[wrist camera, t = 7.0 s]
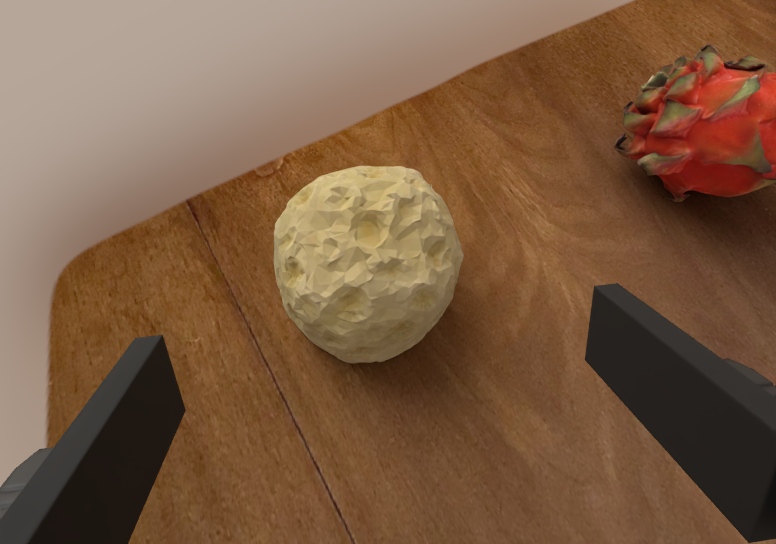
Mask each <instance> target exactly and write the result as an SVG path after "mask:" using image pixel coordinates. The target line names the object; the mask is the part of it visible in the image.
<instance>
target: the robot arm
mask: <svg viewBox="0 0 776 544" xmlns="http://www.w3.org/2000/svg"><path fill="white" fill-rule="evenodd" d="M585 360H586V362H587V363H588V364H589V365H590V366H591V367H592V368H593V369H594V371H595V372H596V373H597V374H598V375H599V376H600V377H601V378H602V379H603V381H604V382H605V383H606V384H607V385H608V386H609V387H610V388H611V390H612V391H613V392H614V393H615V394H616V395H617V396H618V397H619V398H620V400H621V401H622V402H623V403H624V404H625V405H626V406H627V407H628V409H629V410H630V411H631V412H632V413H633V414H634V415H635V416H636V417H637V419H638V420H639V421H640V422H641V423H642V424H643V425H644V426H645V428H646V429H647V430H648V431H649V432H650V433H651V434H652V435H653V436H654V438H655V439H656V440H657V441H658V442H659V443H660V444H661V445H662V446H663V448H664V449H665V450H666V451H667V452H668V453H669V454H670V455H671V457H672V458H673V459H674V460H675V461H676V462H677V463H678V464H679V465H680V467H681V468H682V469H683V470H684V471H685V472H686V473H687V474H688V476H689V477H690V478H691V479H692V480H693V481H694V482H695V483H696V484H697V486H698V487H699V488H700V489H701V490H702V491H703V492H704V493H705V495H706V496H707V497H708V498H709V499H710V500H711V501H712V502H713V503H714V505H715V506H716V507H717V508H718V509H719V510H720V511H721V512H722V514H723V515H724V516H725V517H726V518H727V519H728V520H729V521H730V522H731V524H732V525H733V526H734V527H735V528H736V529H737V530H738V531H739V533H740V534H741V535H742V536H743V537H744V538H745V539H746V540H747V541H748V543H751V542H757V541H764V540H770V539H776V386H773V383H772V382H771V381H769V380H768V379H766V378H765V377H763V376H762V375H760V374H759V373H758V372H756V371H755V370H753V369H751V368H749V367H747V366H744V365H742V364H740V363H738V362H735V361H733V360H731V359H729V358H728V359H721V358H720V357H718V356H717V355H716V354H714V353H713V352H712V351H710V350H709V349H707V348H706V347H705V346H703V345H702V344H700V343H699V342H698V341H696V340H695V339H694V338H692V337H691V336H689V335H688V334H687V333H685V332H684V331H683V330H681V329H680V328H678V327H677V326H676V325H674V324H673V323H671V322H670V321H669V320H667V319H666V318H665V317H663V316H662V315H660V314H659V313H658V312H656V311H655V310H654V309H652V308H651V307H649V306H648V305H647V304H645V303H644V302H642V301H641V300H640V299H638V298H637V297H636V296H634V295H633V294H631V293H630V292H629V291H627V290H626V289H624V288H623V287H622V286H620V285H619V284H618V283H616V284H608V285H599V286H594V291H593V299H592V307H591V315H590V323H589V331H588V339H587V347H586V355H585ZM184 413H185V407H184V404H183V400H182V397H181V394H180V390H179V387H178V384H177V381H176V377H175V374H174V371H173V368H172V364H171V361H170V358H169V354H168V351H167V348H166V345H165V341H164V338H163V335H158V336H149V337H141V338H135V339H134V341H133V342H132V343H131V345H130V346H129V347H128V349H127V350H126V351H125V353H124V354H123V355H122V357H121V358H120V359H119V361H118V362H117V363H116V365H115V366H114V367H113V369H112V370H111V371H110V373H109V374H108V375H107V377H106V378H105V379H104V381H103V382H102V383H101V385H100V386H99V388H98V389H97V390H96V392H95V393H94V394H93V396H92V397H91V398H90V400H89V401H88V402H87V404H86V405H85V406H84V408H83V409H82V410H81V412H80V413H79V414H78V416H77V417H76V418H75V420H74V421H73V422H72V424H71V425H70V426H69V428H68V429H67V430H66V432H65V433H64V434H63V436H62V437H61V439H60V440H59V441H58V443H57V444H56V445H55V447H53V448H45V449H39V450H38V451H37V452H35V453H34V454H33V455H32V456H30V457H29V458H28V459H27V460H25V461H24V462H23V463H22V464H20V465H19V466H18V467H17V468H16V469H15V470H14V471H13V472H12V473H11V475H10V476H9V477H8V478H7V480H6V481H5V482H4V483H3V485H2V486H1V487H0V544H128V542H129V540H130V537H131V535H132V533H133V530H134V528H135V526H136V523H137V521H138V519H139V516H140V514H141V512H142V510H143V507H144V505H145V503H146V500H147V498H148V496H149V493H150V491H151V489H152V486H153V484H154V482H155V480H156V477H157V475H158V473H159V470H160V468H161V466H162V463H163V461H164V459H165V457H166V454H167V452H168V450H169V447H170V445H171V443H172V440H173V438H174V436H175V433H176V431H177V429H178V427H179V424H180V422H181V420H182V417H183V415H184Z"/></svg>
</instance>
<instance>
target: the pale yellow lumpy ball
mask: <svg viewBox="0 0 776 544" xmlns="http://www.w3.org/2000/svg"><path fill="white" fill-rule="evenodd" d="M274 238H275V240H274V245H275V248H274V267H275V274H276V279H277V286H278V287H279V288H280V296H281V297H282V302H283V306H284V308H285V311H286V313H287V314H288V316H289V317H290V319H291V320H292V321H293V322H295V323H296V325H297V327H298V328H299V329H300V330H301V331H302V332H303V333H304V334H305V336H306V337H307V338H308V339H309V340H310V341H312V342H313V343H314V344H315V345H317V346H318V347H320V348H321V349H323V350H325V351H327V352H329V353H330V354H332V355H334V356H335V357H337V358H338V359H339V360H342V361H344V362H348V363H359V362H368V363H369V362H370V363H371V362H376V361H377V362H382V361H385V360H388V359H390V358H393V357H395V356H397V355H399V354H401V353H402V352H404V351H406V350H408V349H410V348H411V347H412V346H414V345H415V344H417V343H418V342H419V341H420V340H422V339H423V338H424V336H425V335H426V333H427V332H429V331H430V330H431V328H432V327H433V326H434V325H435V324H436V323H437V322H438V321H439V319H440V318H441V316H442V315H443V313H444V312H445V310H446V308H447V307H448V305H449V303H450V302H451V301H452V299H453V294H454V289H455V284H456V283H457V281H458V275H459V270H460V266H461V263H462V260H463V252H462V249H461V244H460V241H459V239H458V236H457V234H456V229H455V228H454V222H453V219H452V217H451V215H450V212H449V210H448V208H447V206H446V204H445V203H444V201H443V199H442V197H441V196H440V195H439V194H437V193H436V192H435V191H434V190H433V189H432V184H431V185H429V184H428V183H426V182H425V180H424V179H423V177H422V175H421V173H420V172H418V171H416V170H414V169H407V168H405V167H401V166H396V167H372V166H357V167H353V168H349V169H345V170H341V171H337V172H333V173H330V174H327V175H323V176H319V177H318V178H317V179H316V180H315V181H314V182H312V183H310V184H309V185H307V186H305V187H304V188H303V189H302V190H301V191H299V192H298V193H297V194H296V195H295V196H294V197H293V198H292V199H291V200H290V201H289V202H288V204H287V207H286V210H285V211H284V212H283V213H282V215H281V216H280V217H279V219H278V220H277V222H276V223H275V231H274Z"/></svg>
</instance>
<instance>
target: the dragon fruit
mask: <svg viewBox="0 0 776 544" xmlns="http://www.w3.org/2000/svg"><path fill="white" fill-rule="evenodd" d="M767 67H768V63H767V62H765V61H763V60H759V59H756V58H754V57H751V56H750V55H747V56H745V57H743V58H741V59H740V60H739V61H738V63H737V62H735V61H728V62H724V63H723V61H722V59H721V56H720V54H719V52H718V50H717V49H716V48H715V47H714V46H713V45H712V44H707V45H705V46H704V47H702V48H701V49H700V50H699V51H698V53H697V55H696V56H695V57H694V58H693V59H690V58H687V57H685V56H681V57H679V58H678V59H677V60H676V61H675V62H674V64H670V65H667V66H664V67H662V69H661V70H660V71H659V72H657V73H656V75H655V76H653V74H652V77H651V78H650V80H649V81H648V82H647V83H646V84H643V85H641V89H640V90H639V92H638V97H637V98H636V100H635V101H634V102H630V103H629V104H628V105H627V106H626V107H625V108H624V110H623V116H624V117H623V124H624V126H625V128H626V129H627V130H628V131H630V132H632V133H634V134H635V136H634V141H632V142H631V143H629V144H621V143H622V142H623V141H624V140H625V139H626V138H627V137H626V138H625V137H624V136H625V134H622V135H621V136H619V137H618V138H617V140H616V142H615V150H617V151H618V152H619V153H620V154H621V155H623V156H624V157H630V158H631V159H638V165H639V166H640V167H641V168H642V169H644V170H645V171H646V174H647V175H648V176H649V175H658V176H659V177H660V178H661V179H662V181H663V184H664V188H665V189H667V190H668V191H669V192H670V193H671V194H672V195H673V196H674V197H675V199H674V198H671V197H669V199H670V200H673V201H675V202H682V201H684V199H685V198H687V197H688V196H690V194H688V193H686V191H688V190H695V191H699V192H702V193H706V194H712V195H715V196H723V197H733V196H739V195H744V194H747V193H750V192H752V191H754V190H758V189H760V188H762V187H763V188H764V187H767V186H769V185H771V184H776V72H773V73H766V69H767Z"/></svg>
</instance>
